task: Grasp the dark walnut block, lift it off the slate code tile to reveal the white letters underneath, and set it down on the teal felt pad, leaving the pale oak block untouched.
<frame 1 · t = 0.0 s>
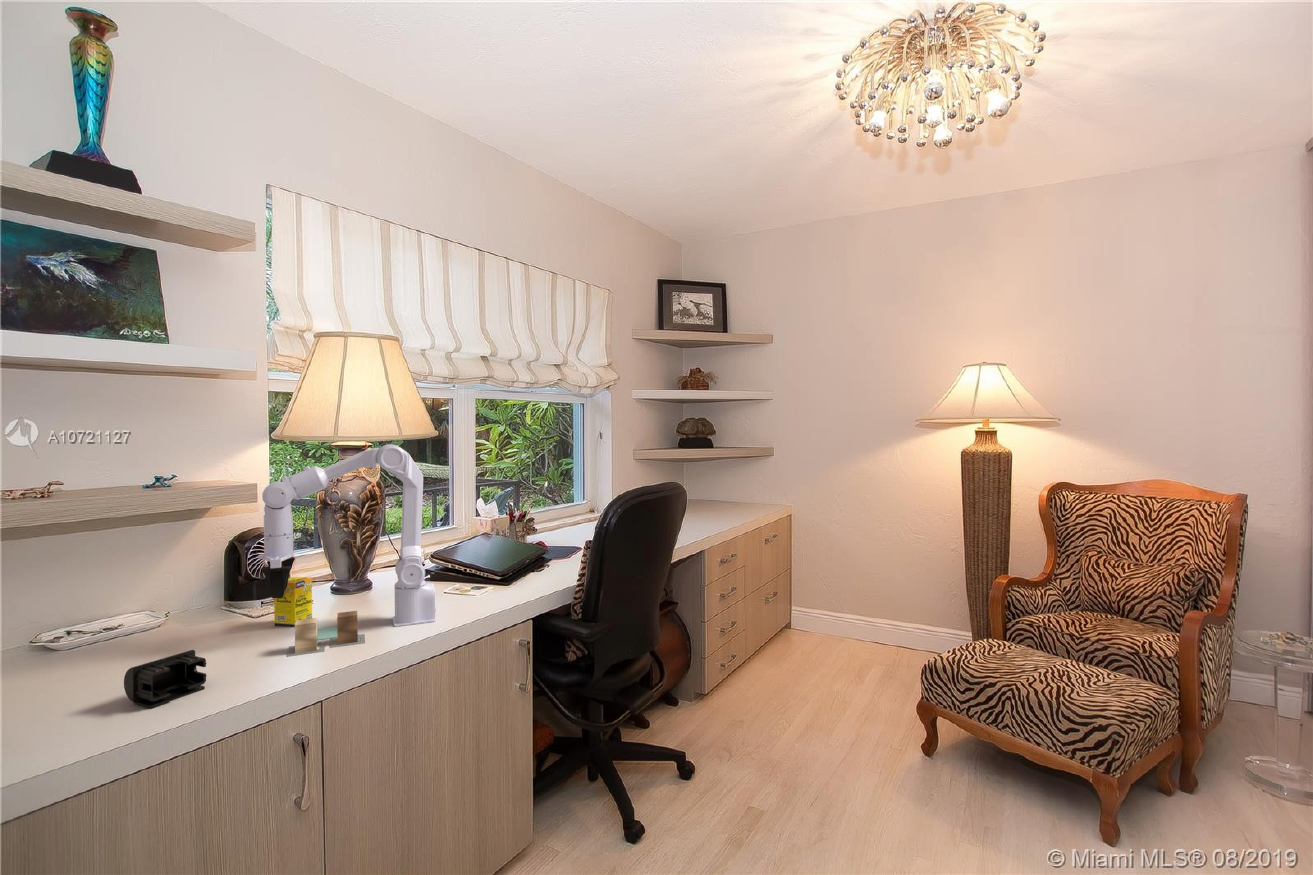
hand: (279, 593, 145), 10 cm above the table, tool pointing down, fingers open, 7 cm apart
end cap: (167, 697, 114), on the table
oak block: (306, 648, 137), resting on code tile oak
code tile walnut: (347, 641, 143), on the table
walnut block: (347, 640, 143), resting on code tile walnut
supplement box: (293, 624, 156), on the table
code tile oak: (306, 649, 137), on the table
felt pad: (319, 635, 147), on the table
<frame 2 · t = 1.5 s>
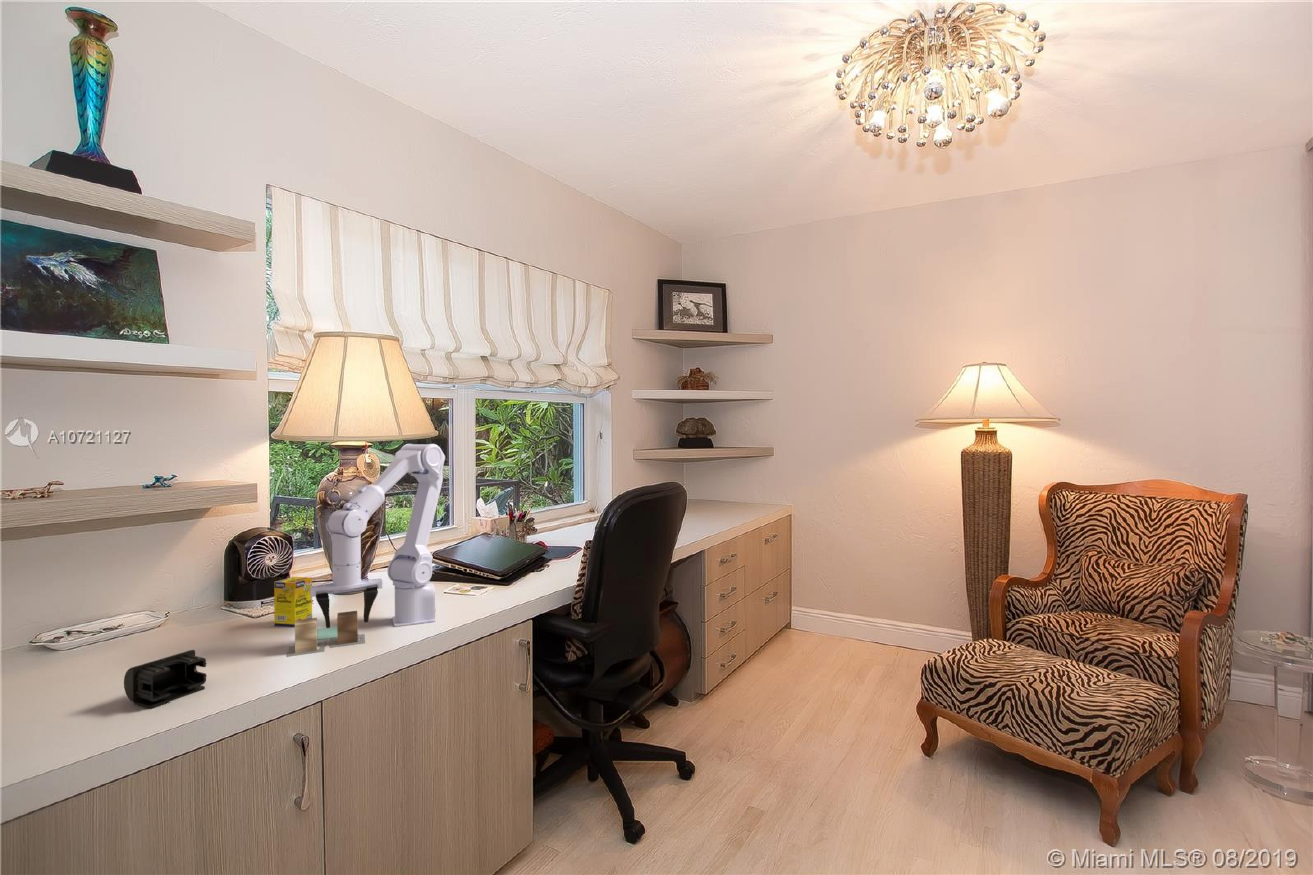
hand: (347, 624, 143), 4 cm above the table, tool pointing down, fingers open, 7 cm apart
nothing on the table moved.
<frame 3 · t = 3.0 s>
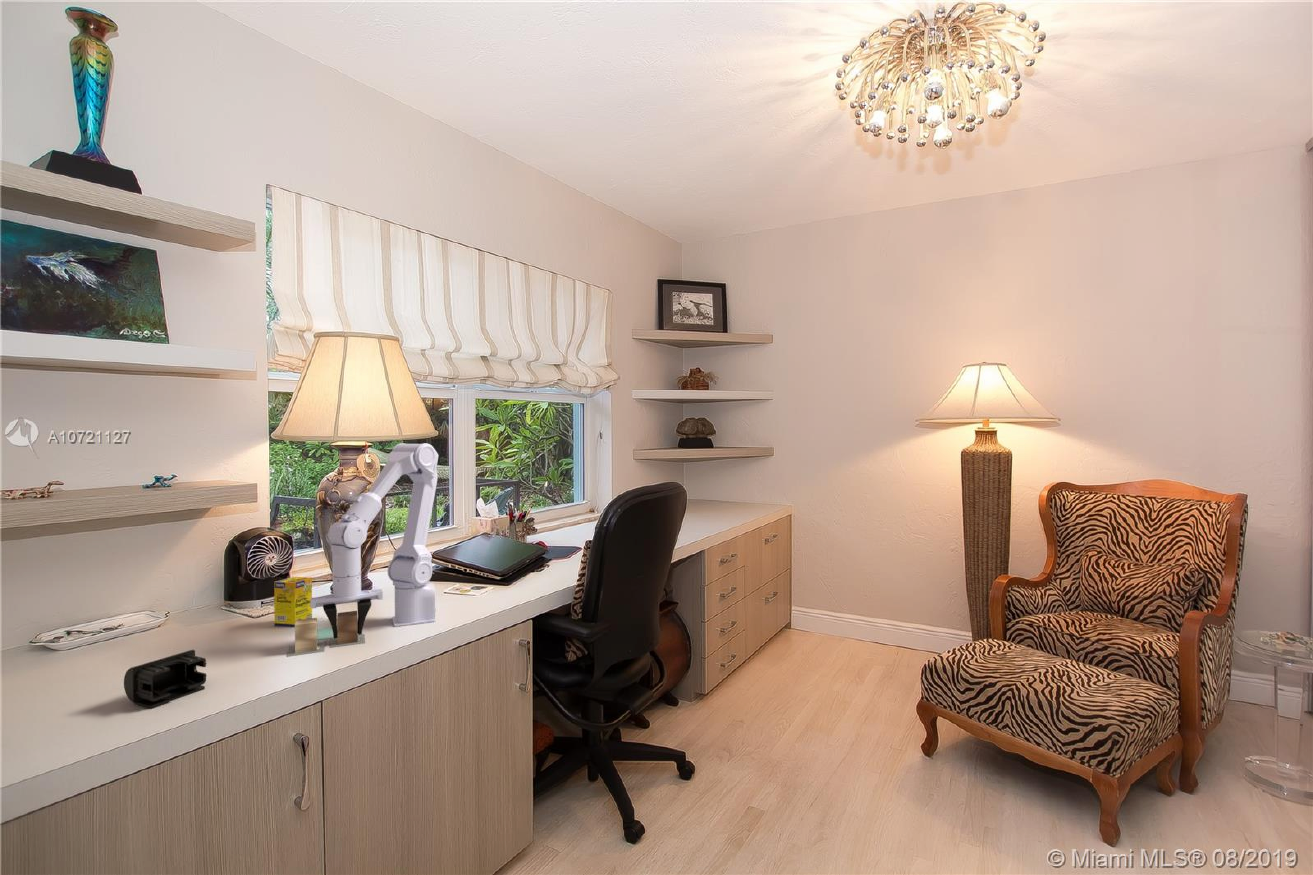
hand: (347, 635, 143), 1 cm above the table, tool pointing down, fingers closed on walnut block, 4 cm apart
walnut block: (347, 640, 143), resting on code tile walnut, touching gripper
everything else where it was.
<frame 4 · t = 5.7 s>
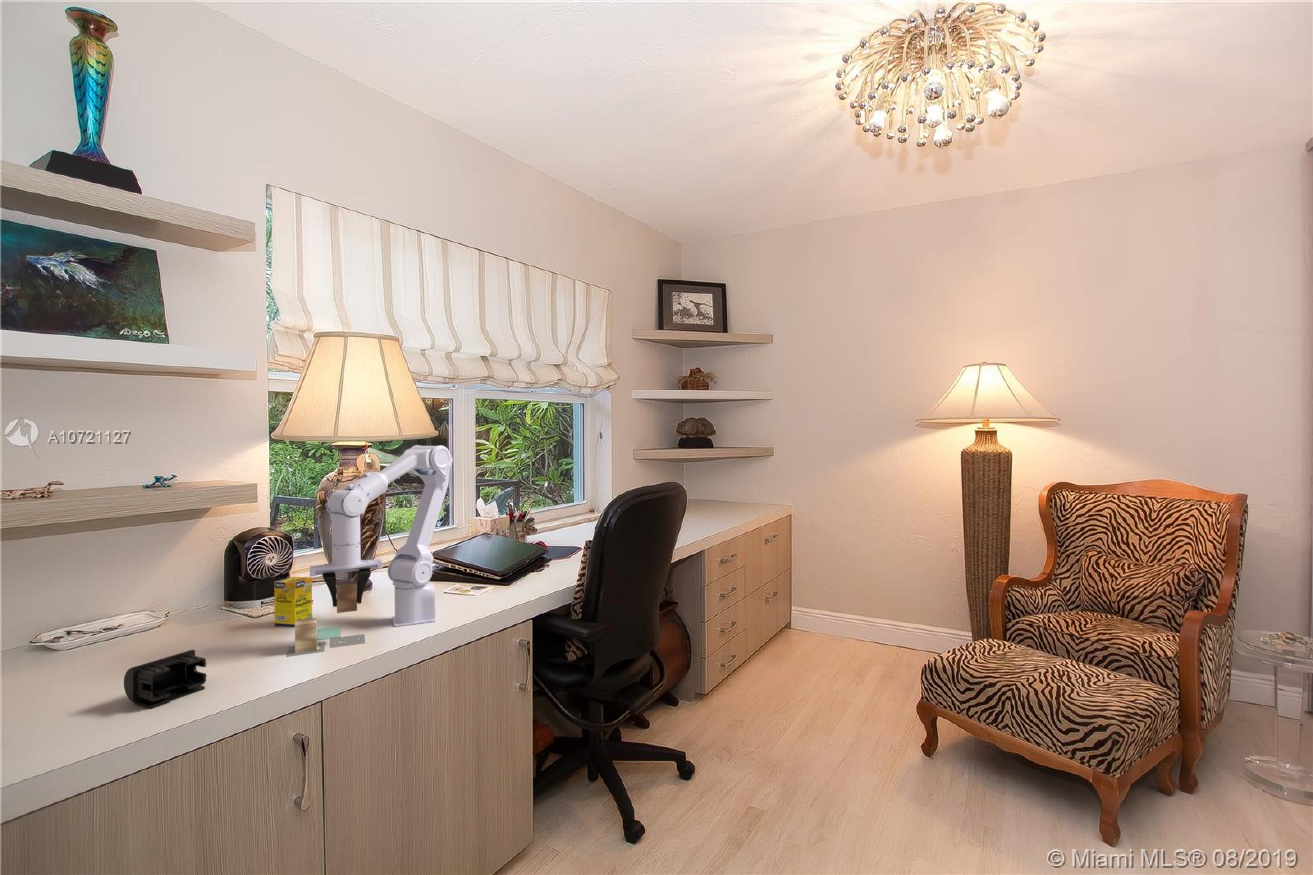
hand: (347, 604, 143), 8 cm above the table, tool pointing down, fingers closed on walnut block, 4 cm apart
walnut block: (347, 609, 143), point 7 cm above the table, touching gripper
everything else where it was.
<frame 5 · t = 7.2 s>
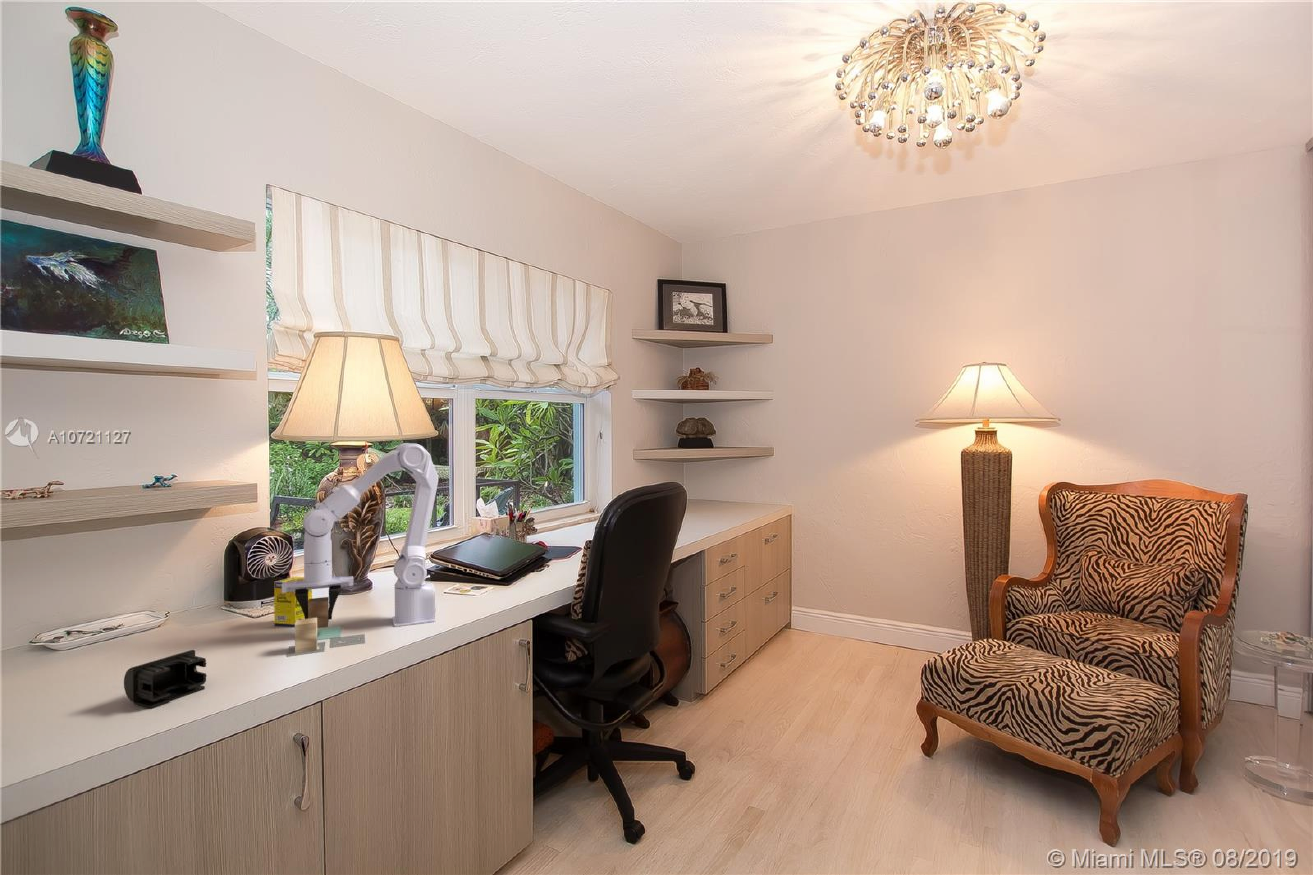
hand: (318, 619, 147), 4 cm above the table, tool pointing down, fingers closed on walnut block, 4 cm apart
walnut block: (318, 625, 147), point 2 cm above the table, touching gripper
everything else where it was.
when the fingers open (3 cm above the table, at t = 8.2 s): walnut block drops 1 cm, resting on felt pad.
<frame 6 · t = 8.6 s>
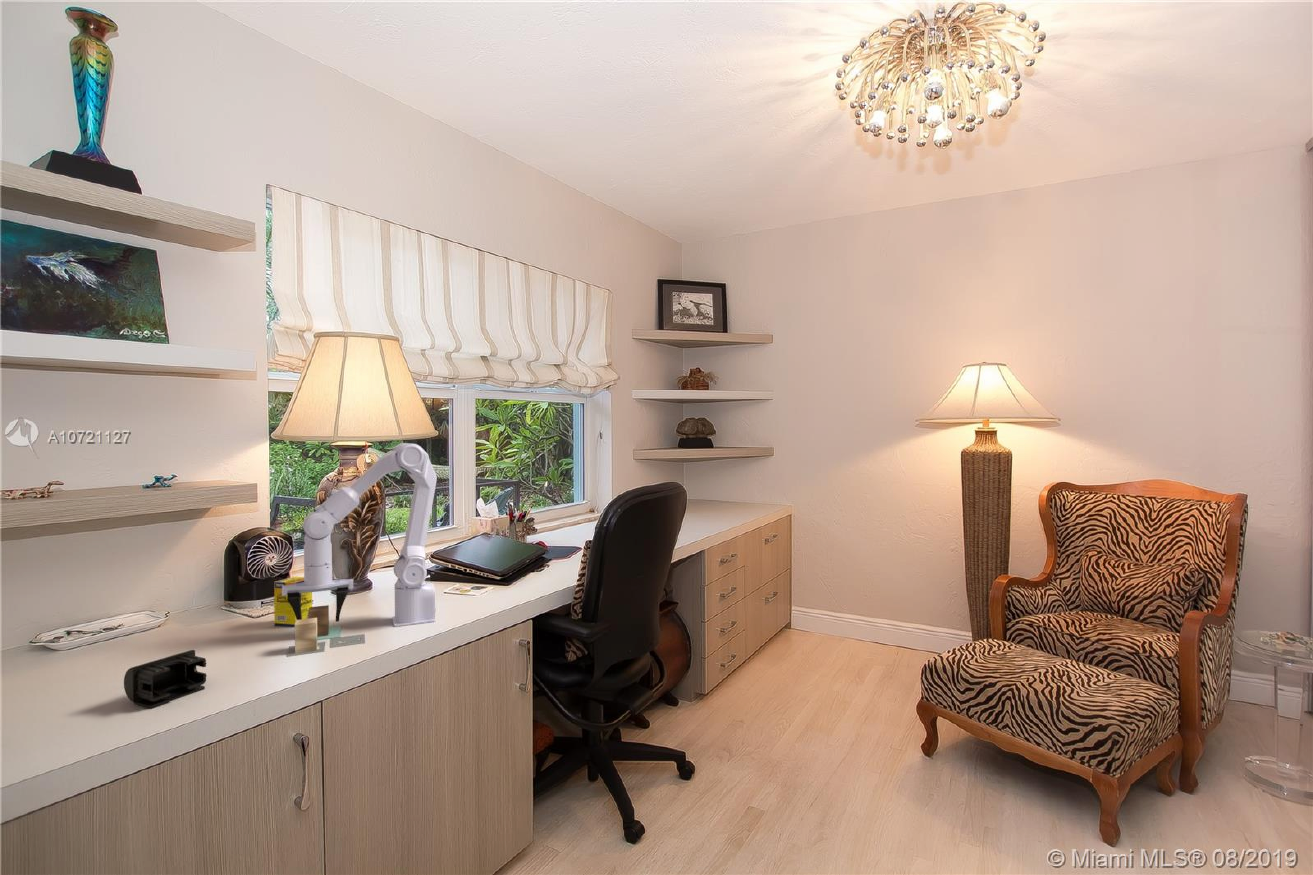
hand: (318, 622, 147), 3 cm above the table, tool pointing down, fingers open, 7 cm apart
walnut block: (318, 634, 147), resting on felt pad
everything else where it was.
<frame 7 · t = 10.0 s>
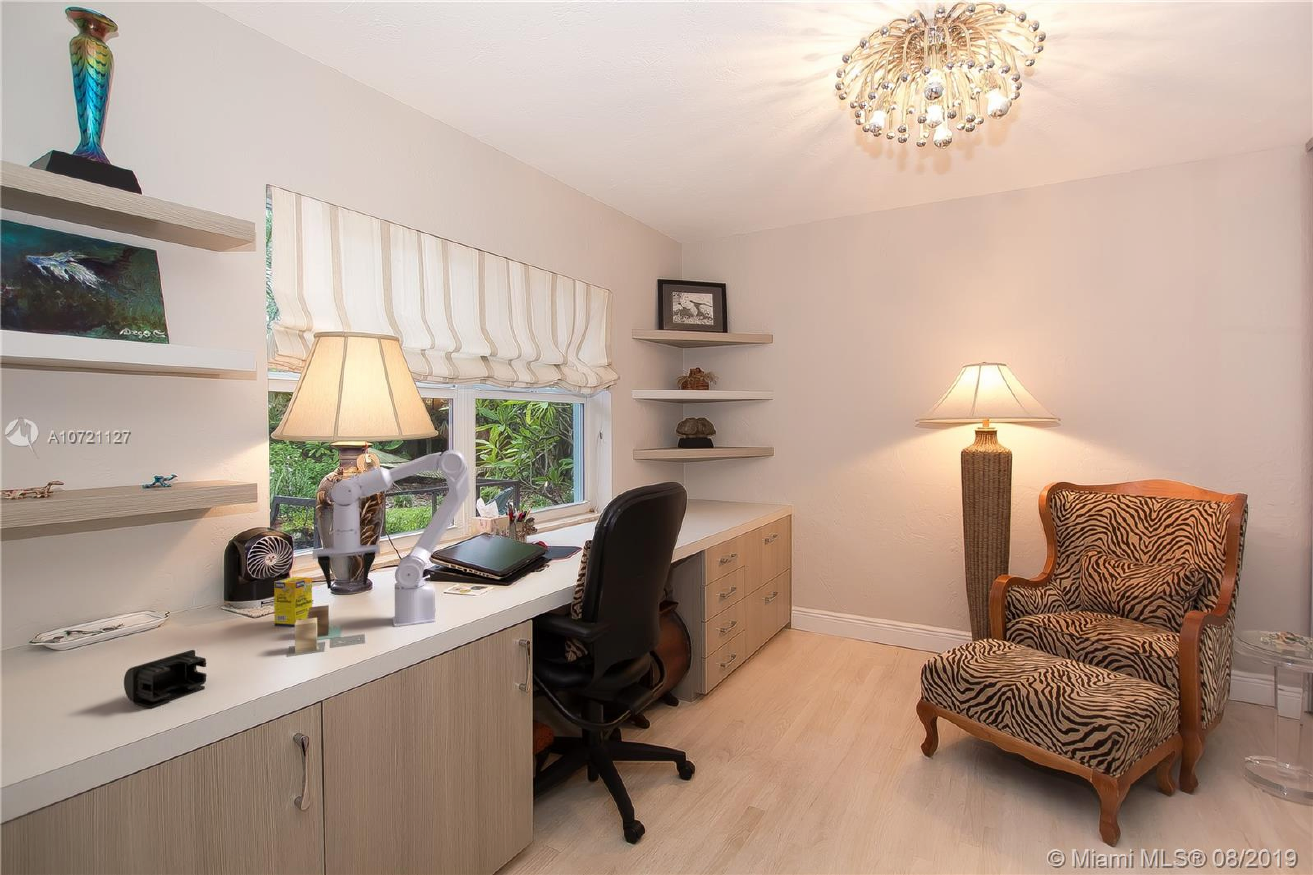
hand: (347, 585, 153), 10 cm above the table, tool pointing down, fingers open, 7 cm apart
nothing on the table moved.
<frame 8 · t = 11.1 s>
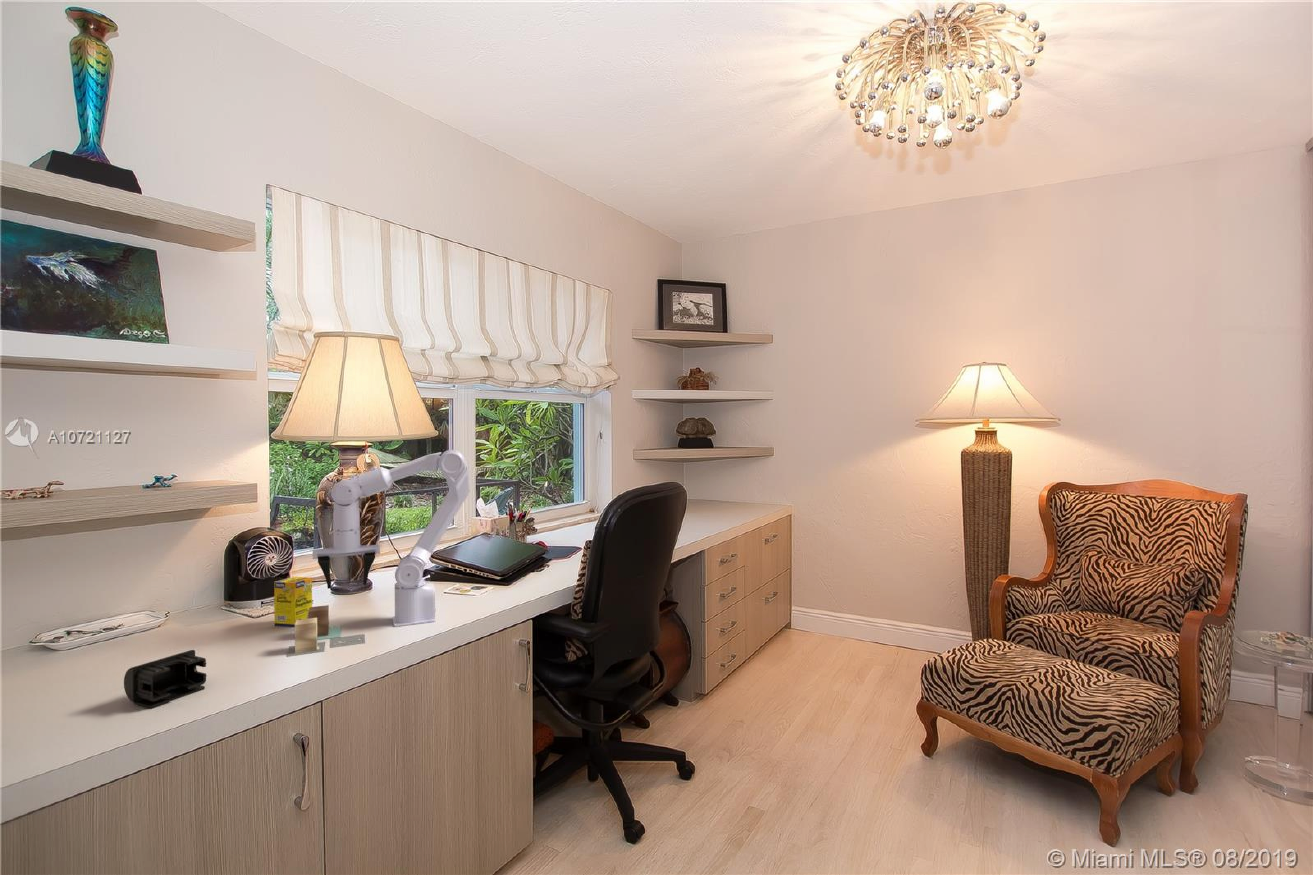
hand: (347, 585, 153), 10 cm above the table, tool pointing down, fingers open, 7 cm apart
nothing on the table moved.
at the end: walnut block inside the target area on the felt pad (0.3 cm from its centre), point 0.3 cm above the felt pad's base; walnut block tilted 0°; walnut block touching felt pad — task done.
